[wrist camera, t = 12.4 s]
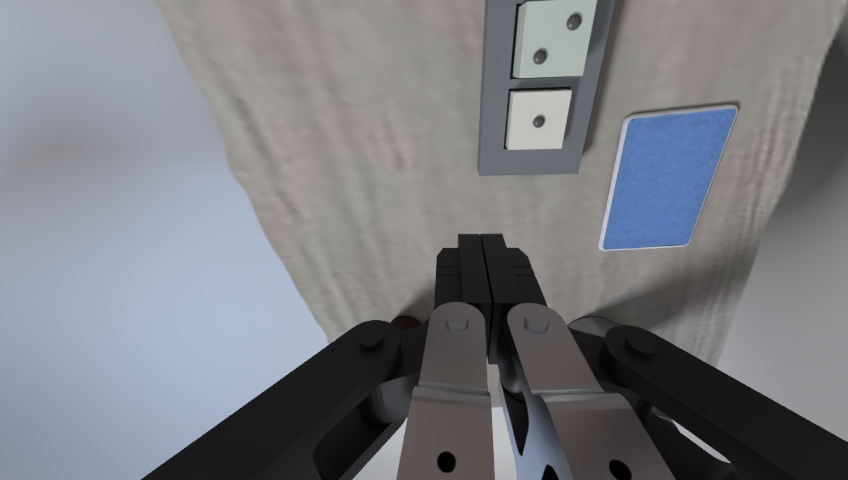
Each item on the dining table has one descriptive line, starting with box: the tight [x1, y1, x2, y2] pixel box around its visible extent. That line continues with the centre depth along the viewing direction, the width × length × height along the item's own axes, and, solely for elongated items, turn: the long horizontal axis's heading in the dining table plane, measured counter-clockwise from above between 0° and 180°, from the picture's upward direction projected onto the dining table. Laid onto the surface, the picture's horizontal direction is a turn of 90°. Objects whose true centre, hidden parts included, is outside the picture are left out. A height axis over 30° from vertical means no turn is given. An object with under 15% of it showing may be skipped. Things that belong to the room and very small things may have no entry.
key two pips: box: [513, 0, 597, 78], centre depth 30 cm, size 6×6×4 cm
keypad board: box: [477, 0, 615, 176], centre depth 33 cm, size 12×28×3 cm, turn 2°
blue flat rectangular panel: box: [598, 104, 738, 251], centre depth 42 cm, size 19×13×1 cm, turn 7°
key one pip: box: [504, 88, 572, 150], centre depth 36 cm, size 6×6×4 cm
